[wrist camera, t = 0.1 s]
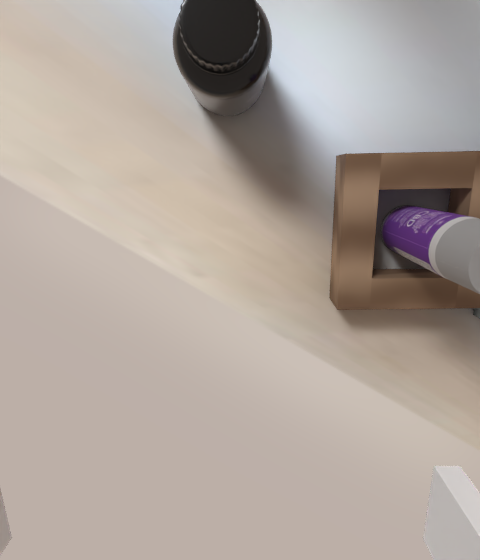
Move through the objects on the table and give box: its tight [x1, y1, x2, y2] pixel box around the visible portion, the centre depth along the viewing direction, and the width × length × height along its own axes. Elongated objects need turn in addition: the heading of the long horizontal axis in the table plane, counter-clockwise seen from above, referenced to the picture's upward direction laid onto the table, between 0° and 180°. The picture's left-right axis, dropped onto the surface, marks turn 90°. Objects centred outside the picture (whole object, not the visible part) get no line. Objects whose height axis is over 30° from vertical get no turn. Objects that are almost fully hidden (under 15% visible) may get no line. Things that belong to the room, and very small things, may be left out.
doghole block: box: [330, 151, 480, 310], centre depth 35 cm, size 14×14×4 cm
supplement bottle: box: [173, 0, 272, 116], centre depth 28 cm, size 7×7×12 cm
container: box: [381, 205, 480, 294], centre depth 30 cm, size 5×5×15 cm
